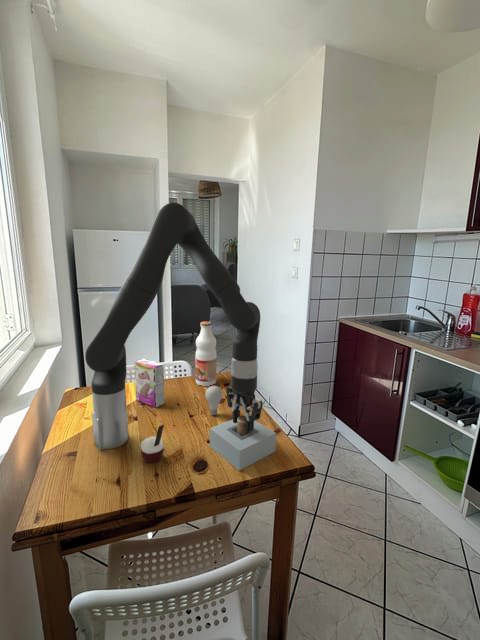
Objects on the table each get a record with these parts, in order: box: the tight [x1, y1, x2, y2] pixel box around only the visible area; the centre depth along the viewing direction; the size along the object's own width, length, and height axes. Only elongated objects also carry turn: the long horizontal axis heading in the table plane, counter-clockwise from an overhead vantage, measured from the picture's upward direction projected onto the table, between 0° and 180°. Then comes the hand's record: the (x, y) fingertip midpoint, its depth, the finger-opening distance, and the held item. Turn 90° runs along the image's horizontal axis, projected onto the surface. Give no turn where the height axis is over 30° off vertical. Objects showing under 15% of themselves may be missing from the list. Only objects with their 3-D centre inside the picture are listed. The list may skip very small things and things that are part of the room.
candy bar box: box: [134, 358, 165, 409], centre depth 121 cm, size 11×5×16 cm, turn 58°
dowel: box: [237, 414, 248, 436], centre depth 94 cm, size 3×3×10 cm
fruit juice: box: [194, 320, 218, 387], centre depth 140 cm, size 9×9×28 cm
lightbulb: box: [204, 385, 223, 416], centre depth 113 cm, size 6×6×11 cm
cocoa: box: [139, 424, 165, 463], centre depth 88 cm, size 10×6×12 cm, turn 26°
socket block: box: [209, 413, 277, 471], centre depth 94 cm, size 14×14×6 cm
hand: (242, 426), depth 93 cm, fingers open, 5 cm apart
